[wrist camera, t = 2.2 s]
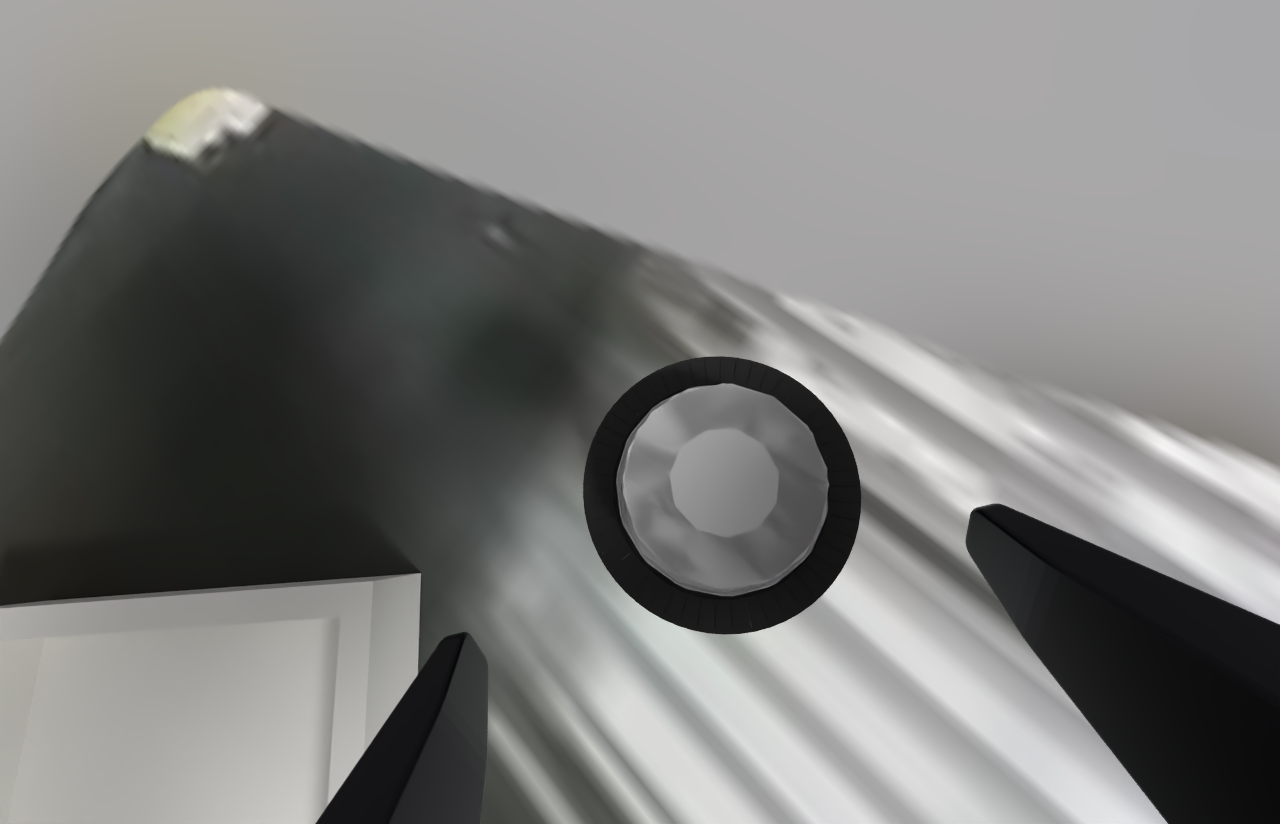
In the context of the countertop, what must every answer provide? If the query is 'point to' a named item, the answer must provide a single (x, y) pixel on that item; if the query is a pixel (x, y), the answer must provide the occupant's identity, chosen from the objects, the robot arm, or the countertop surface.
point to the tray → (199, 700)
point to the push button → (722, 495)
